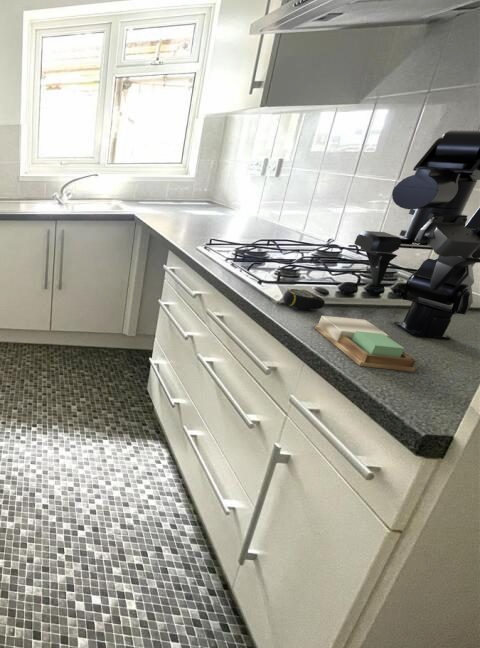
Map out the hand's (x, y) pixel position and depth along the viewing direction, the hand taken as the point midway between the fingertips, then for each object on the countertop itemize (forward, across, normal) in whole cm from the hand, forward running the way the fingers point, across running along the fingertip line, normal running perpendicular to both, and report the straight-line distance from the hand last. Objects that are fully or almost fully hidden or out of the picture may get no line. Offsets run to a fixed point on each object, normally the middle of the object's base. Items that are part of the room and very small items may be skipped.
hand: (403, 287), depth 81 cm
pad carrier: (+12, -6, -4) cm, 14 cm away
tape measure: (+12, -7, +17) cm, 22 cm away
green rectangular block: (+11, -5, -8) cm, 15 cm away
